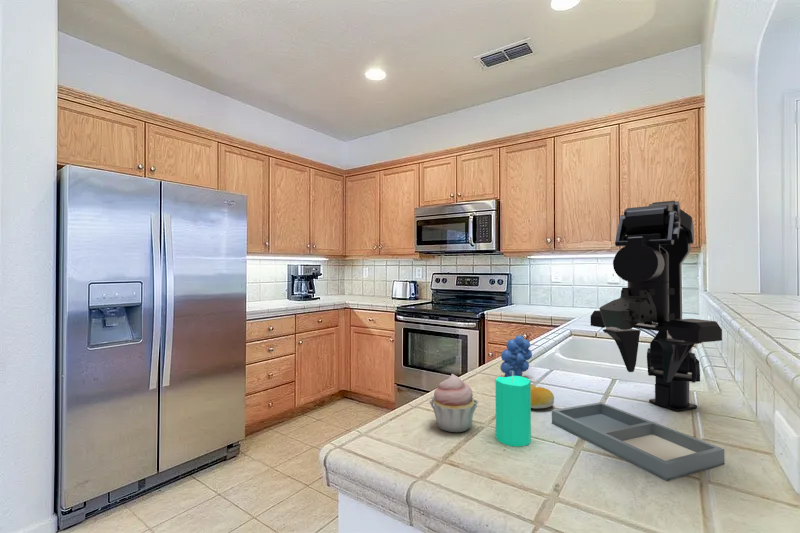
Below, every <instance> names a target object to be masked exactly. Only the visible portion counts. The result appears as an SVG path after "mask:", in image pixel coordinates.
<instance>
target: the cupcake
mask: <svg viewBox="0 0 800 533" xmlns="http://www.w3.org/2000/svg"><path fill="white" fill-rule="evenodd" d="M433 394H434V395H433V396H431V400H429V401H428V402H429V404H430V406H431V408H432V409H433V412H434V417H435V421H436V424H437V427H438V428H439V429H441V430H442V431H446V432H450V433H463V432H466V431H468V430H469V429H470V428H471V426H472V422H473V419H474V418H473V417H474V413H475V411H476V409H477V407H478V403H479V400H476V399H474V397H473V394H474V393H473V391H472V388H471V386H470V385H469V384H468V383H466V382H464V381H463V380H462V379H461V378H460V377H458V376H457V375H456V374H454V373H451V375H450V377H449V378H447V379H445V380H443V381H441V382H440V383H439V384H438V387H436V389H435V390H434V392H433Z"/></svg>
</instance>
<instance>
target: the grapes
mask: <svg viewBox="0 0 800 533" xmlns="http://www.w3.org/2000/svg"><path fill="white" fill-rule="evenodd" d="M505 346H506V349H504V350H503V351H502V352H501V354H500V357H501V360H502V361H503V362H502V363H501V364H500V367H499V368H500V371H501V372H502V373H503V374H504V377H509V376H512V371H513V376H522V377H523V372H524V373H525V372H526V371H528V370H529V369H530V363H529V360H530V359H532V356H533V352H532V351H531V349H529V348H530V347H531V343H530V341H529V339H527V338H526V339H524V336H522V335H521V334H519V335H516V336H515V338H514V339H509V340H508V341H507V342H506V345H505Z"/></svg>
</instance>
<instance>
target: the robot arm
mask: <svg viewBox="0 0 800 533" xmlns="http://www.w3.org/2000/svg"><path fill="white" fill-rule="evenodd" d="M680 204H681V203H680V201H679V200H678V201H676V200H666V201H656V202H652V203H649V204H648V205H646V206H636V207H626V208H625V210H624V211H623V214H622V215H620V216H619V220H618V221H619V222H618V226H617V230H616V236H615V242H614V245H615V247H617V248H618V247H622V248H620V249H619V250H617V252H616V254H615V256H614V258H613V261H612V266H613V270H614V273H615V274H616V275H617V276H618V277H619V278H620V279H621V280H623V281H626V282H627V287H621V291H620V297H619V298H617V299H613V300H611V301H610V302H609V301H608V302H607V303H605V304H603V305H601V306H600V307H599V310H594V311H593V312H592V314H591V315H590V326H591V327H595V328H603V329H602V331H603V333H605V334H607V335H609V336H610V338H612V339H613V340H614V342H615V343H616V345H617V348H618V350H619V353H620V355H621V358H622V360H623V364H624V366H625V368H626V371H627V372H628V373H633V372H635V368H636V365H637V358H638V351H639V342H640V335H641V330H642V329H643V330H646V331H647V330H648V331H656V332H657V334H655V336H654V338H653V339H652V340H651V341H650V344H649V347H647V351H646V364H647V367H646V368H647V375H648V376H650V377H651V376H653V377H655V383H654V398H650V399H648V402H649V403H651V404H654V405H657V406H659V407H660V406H661V407H663V408H667V409H669V410H672V411H674V412H675V411H676V412H681V411H687V410H692V409H697V408H698V405H697V404H696V403H695V404H694V403H691V402H690V382H691V383H696V382H701V367H700V360H699V359H698V358H697V356H696V353H695V352H693V351H692V350H693V349H692V348H693V347H694V346H695V345H700V344H702V343H709V342H710V343H711V342H721V341H723V329H722V327H721V325H719V324H718V322H717V320H708V319H707V320H706V319H700V318H683V284H682V283H683V275H682V274H683V271H682V267H683V266H682V265H683V263H684V261H685V260H686V258H687V257H688V255H689V254H690V252H691V245H692V244H693V245H694V244H695V230H694V229H695V228H694V222H693V217H692V216H691V215H690V214H688V213H687V212H686V211H684V210H683V209H681V205H680ZM640 329H641V330H640Z"/></svg>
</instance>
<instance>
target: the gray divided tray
mask: <svg viewBox="0 0 800 533" xmlns="http://www.w3.org/2000/svg"><path fill="white" fill-rule="evenodd" d="M551 424H553V425H555V426H556V427H559V428H560V429H562V430H565V431H566V432H569V433H570V434H572V435H575V436H576V437H578V438H580V439H582V440H584V441H586V442H587V443H589V444H591V445H594V446H595V447H598V448H600V449H602V450H604V451H605V452H608V453H610V454H612V455H614V456H615V457H618V458H620V459H621V460H624V461H626V462H628V463H629V464H632V465H633V466H635V467H638V468H640V469H641V470H644V471H646V472H648V473H649V474H651V475H653V476H655V477H658V478H659V479H661V480H664V481H665V482H670V481H673V480H677V479H680V478H683V477H686V476H690V475H693V474H696V473H701V472H703V471H706V470H709V469H714V468H716V467H720V466H724V465H725V448H722V447H720V446H717V445H715V444H712V443H709V442H707V441H705V440H701V439H698V438H696V437H693V436H691V435H688V434H685V433H683V432H681V431H678V430H675V429H673V428H670V427H667V426H665V425H661V424H659V423H656V422H655V421H651V420H649V419H646V418H643V417H641V416H638V415H635V414H633V413H630V412H629V411H628V412H627V411H625V410H623V409H620V408H617V407H614V406H613V405H609V404H606V403H604V402H600V401H599V402H593V403H587V404H582V405H581V404H580V405H575V406H569V407H564V408H558V409H552V410H551Z"/></svg>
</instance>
